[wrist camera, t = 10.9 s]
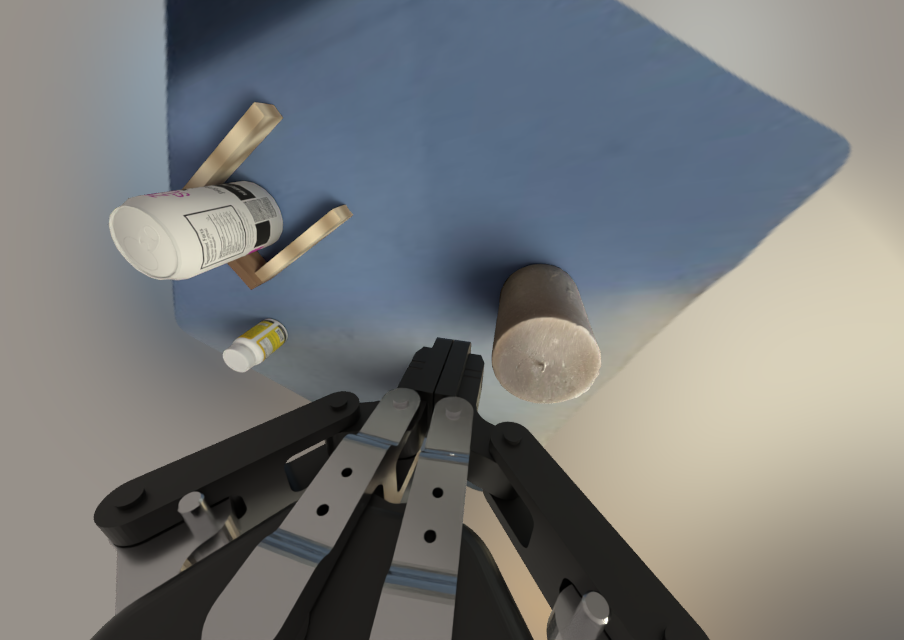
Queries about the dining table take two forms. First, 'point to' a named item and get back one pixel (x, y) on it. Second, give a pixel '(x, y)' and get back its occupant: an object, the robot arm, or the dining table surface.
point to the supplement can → (194, 228)
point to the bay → (222, 167)
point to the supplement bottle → (255, 345)
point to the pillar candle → (543, 337)
